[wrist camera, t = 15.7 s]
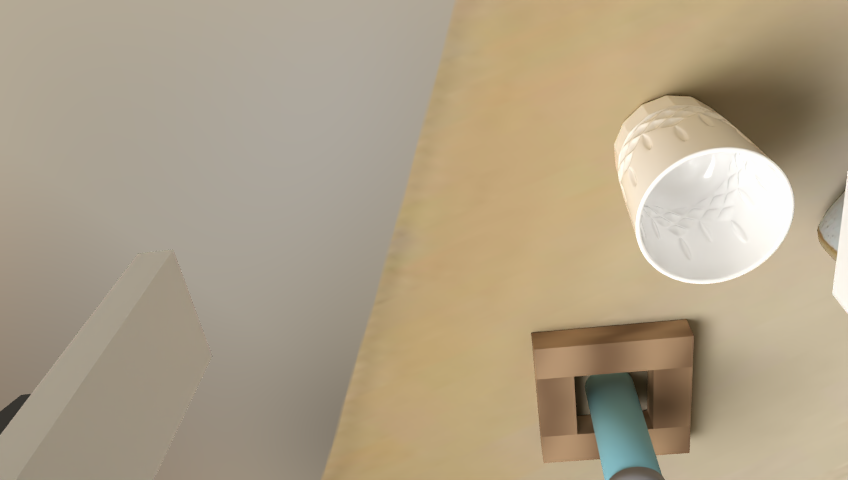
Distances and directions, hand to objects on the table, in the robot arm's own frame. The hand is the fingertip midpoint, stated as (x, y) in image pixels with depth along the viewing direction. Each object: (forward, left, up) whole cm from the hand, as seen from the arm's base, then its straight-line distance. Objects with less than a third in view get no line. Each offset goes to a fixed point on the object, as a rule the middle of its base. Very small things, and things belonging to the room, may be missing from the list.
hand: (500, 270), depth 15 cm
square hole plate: (-7, +31, -32) cm, 44 cm away
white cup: (-11, +12, -32) cm, 36 cm away
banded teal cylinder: (-7, +31, -32) cm, 45 cm away
